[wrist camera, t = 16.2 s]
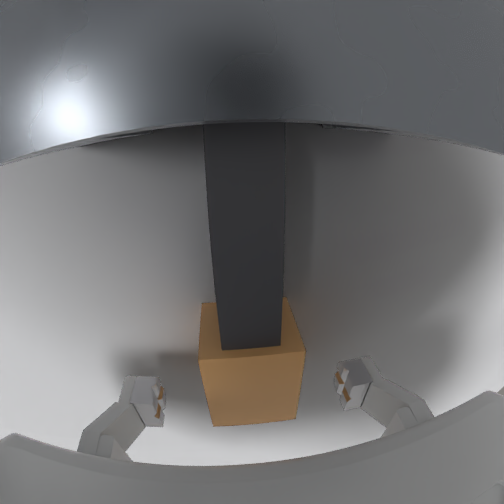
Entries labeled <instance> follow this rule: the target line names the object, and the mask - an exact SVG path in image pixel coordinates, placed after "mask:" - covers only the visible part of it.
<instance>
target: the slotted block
mask: <svg viewBox="0 0 504 504" xmlns="http://www.w3.org/2000/svg"><path fill="white" fill-rule="evenodd" d="M242 122H296V123H319V124H322V127H324V128H339V129H351V130H361V131H371V132H379V133H387V134H395V135H403V136H411V137H418V138H424V139H431V140H437V141H442V142H448V143H453V144H458V145H463V146H468V147H472V148H476V149H481V150H485V151H489V152H493V153H497V154H500V155H504V0H0V166H3V165H6V164H9V163H13V162H16V161H19V160H23V159H27V158H31V157H34V156H38V155H42V154H46V153H51V152H55V151H60V150H64V149H69V148H74V147H79V146H83V145H88V144H93V143H98V142H103V141H108V140H114V139H120V138H125V137H132V136H138V135H145V134H152V130H154V129H162V128H171V127H180V126H191V125H203V124H218V123H242Z"/></svg>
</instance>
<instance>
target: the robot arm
mask: <svg viewBox="0 0 504 504" xmlns="http://www.w3.org/2000/svg"><path fill="white" fill-rule="evenodd" d="M337 369H338V372H337V373H336V374H335V377H334V386H335V389H336V392H337V393H338V394H339V395H341V397H340V402H341V405H342V407H343V410H344V411H345V410H350V409H354V408H359V407H361V409H363V410H364V411H365V412H366V413H368V414H369V415H370V416H372V417H373V418H374V419H375V420H377V421H378V422H379V423H381V424H382V425H383V426H385V427H386V430H385V431H384V433H383V435H382V436H381V438H379V439H376V440H372V441H369V442H366V443H362V444H359V445H355V446H351V447H348V448H344V449H340V450H335V451H331V452H327V453H322V454H317V455H312V456H307V457H301V458H295V459H289V460H282V461H274V462H265V463H256V464H244V465H226V466H178V465H161V464H149V463H139V462H133V461H132V460H131V458H130V457H129V456H128V455H127V454H126V452H125V451H126V450H127V449H128V448H129V447H130V445H131V444H132V443H133V442H134V441H135V439H136V438H137V437H138V436H139V435H140V433H141V432H142V431H143V430H144V428H145V426H148V427H163V423H164V416H165V415H164V413H163V411H162V410H163V409H164V408H165V407H166V395H165V390H164V388H163V387H161V380H160V377H150V376H132V375H127V376H126V377H125V380H124V383H123V387H122V390H121V394H120V398H119V401H118V402H115V403H114V404H113V405H112V406H111V407H109V408H108V409H107V410H106V411H105V412H104V413H102V414H101V415H100V416H99V417H98V418H97V419H95V420H94V421H93V422H92V423H91V424H90V425H89V426H87V427H86V428H85V429H84V430H83V432H82V436H81V439H80V442H79V446H78V449H77V452H76V451H72V450H68V449H64V448H61V447H57V446H54V445H50V444H47V443H44V442H41V441H38V440H35V439H32V438H29V437H26V436H23V435H21V434H17V433H12V434H10V435H8V436H6V437H4V438H3V439H1V440H0V504H504V396H503V395H500V394H498V393H496V392H493V391H485V392H483V393H481V394H480V395H478V396H476V397H474V398H472V399H471V400H469V401H467V402H465V403H463V404H461V405H459V406H457V407H455V408H453V409H451V410H449V411H447V412H445V413H443V414H441V415H438V416H436V417H434V416H433V414H432V412H431V411H430V409H429V407H428V406H427V404H426V402H425V401H424V399H422V398H420V397H418V396H417V395H415V394H413V393H411V392H409V391H407V390H406V389H404V388H402V387H400V386H398V385H396V384H395V383H393V382H391V381H389V380H387V379H383V377H382V376H381V374H380V372H379V370H378V369H377V367H376V365H375V363H374V362H373V360H372V358H371V357H370V356H366V357H361V358H356V359H351V360H346V361H341V362H339V363H338V365H337Z"/></svg>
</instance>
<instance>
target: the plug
mask: <svg viewBox="0 0 504 504" xmlns="http://www.w3.org/2000/svg"><path fill="white" fill-rule="evenodd" d="M203 130H204V152H205V170H206V187H207V202H208V216H209V229H210V241H211V253H212V264H213V275H214V285H215V295H216V302H214V303H202V308H201V321H200V335H199V350H198V363H199V367H200V372H201V377H202V381H203V386H204V390H205V394H206V399H207V403H208V407H209V411H210V415H211V419H212V423H213V427H215V426H235V425H248V424H259V423H269V422H277V421H284V420H292V419H296V414H297V408H298V402H299V395H300V389H301V383H302V376H303V369H304V362H305V354H306V349H305V347H304V344H303V341H302V338H301V336H300V333H299V330H298V327H297V325H296V322H295V319H294V316H293V314H292V311H291V308H290V306H289V303H288V300H287V298H286V297H284V298H283V274H284V234H285V122H242V123H218V124H203Z"/></svg>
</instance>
